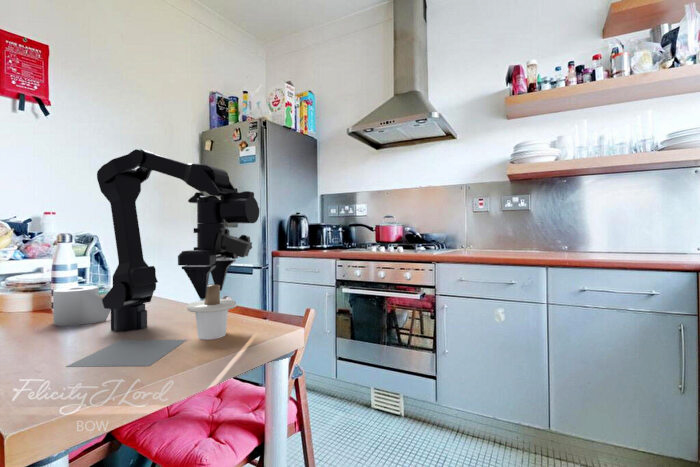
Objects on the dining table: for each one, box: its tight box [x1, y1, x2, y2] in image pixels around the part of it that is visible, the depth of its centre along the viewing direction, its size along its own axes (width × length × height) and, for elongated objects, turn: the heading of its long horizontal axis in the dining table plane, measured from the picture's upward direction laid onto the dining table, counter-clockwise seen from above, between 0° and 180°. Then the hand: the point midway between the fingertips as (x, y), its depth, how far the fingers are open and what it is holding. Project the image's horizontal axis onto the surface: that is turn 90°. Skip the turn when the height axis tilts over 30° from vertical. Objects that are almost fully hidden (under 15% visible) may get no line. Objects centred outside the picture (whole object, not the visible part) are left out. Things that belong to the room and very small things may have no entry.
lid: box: [186, 283, 237, 313], centre depth 75 cm, size 10×10×5 cm
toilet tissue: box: [52, 285, 111, 327], centre depth 91 cm, size 9×13×9 cm
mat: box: [65, 339, 187, 368], centre depth 65 cm, size 14×14×1 cm
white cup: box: [194, 310, 229, 341], centre depth 75 cm, size 7×7×7 cm
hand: (211, 294), depth 75 cm, fingers open, 9 cm apart
